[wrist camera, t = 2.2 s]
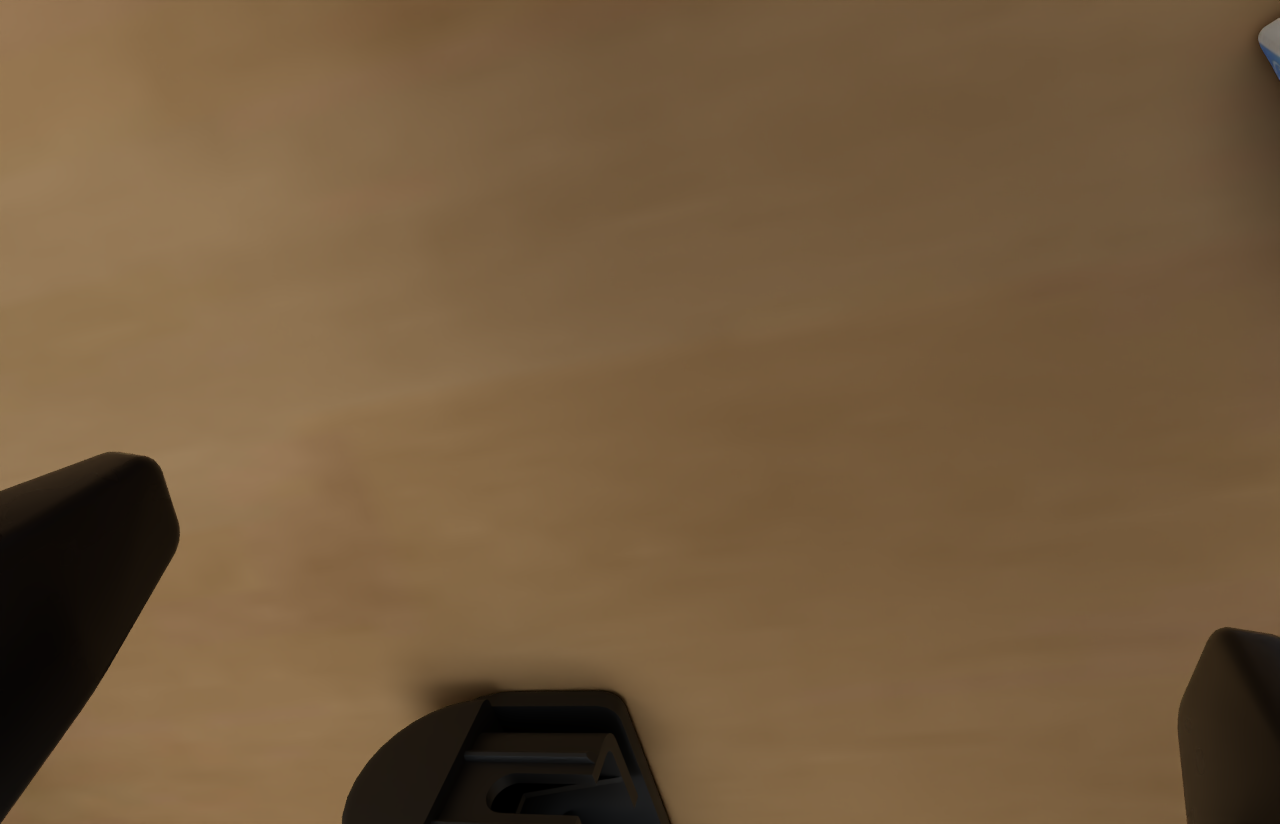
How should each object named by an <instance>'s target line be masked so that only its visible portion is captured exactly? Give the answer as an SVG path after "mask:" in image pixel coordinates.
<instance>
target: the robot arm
mask: <svg viewBox="0 0 1280 824" xmlns="http://www.w3.org/2000/svg"><path fill="white" fill-rule="evenodd" d="M179 537H180V527H179V523H178V519H177V516H176V513H175V510H174V507H173V504H172V501H171V497H170V494H169V491H168V488H167V485H166V482H165V479H164V475H163V472H162V470H161V468H160V466H159V465H158V464H157V463H156V462H155V461H154V460H153V459H151V458H149V457H146V456H141V455H135V454H128V453H122V452H107V453H103V454H100V455H97V456H95V457H92V458H89V459H87V460H84V461H81V462H78V463H76V464H73V465H70V466H67V467H65V468H62V469H59V470H57V471H54V472H51V473H48V474H46V475H43V476H40V477H38V478H35V479H32V480H29V481H27V482H24V483H21V484H18V485H16V486H13V487H10V488H8V489H5V490H2V491H0V824H1V822H2V821H3V820H4V818H5V817H6V815H7V814H8V813H9V811H10V810H11V808H12V807H13V806H14V804H15V803H16V801H17V800H18V799H19V797H20V796H21V794H22V793H23V792H24V790H25V789H26V787H27V786H28V785H29V783H30V782H31V780H32V779H33V778H34V776H35V775H36V773H37V772H38V771H39V769H40V768H41V766H42V765H43V764H44V762H45V761H46V759H47V758H48V757H49V755H50V754H51V752H52V751H53V750H54V748H55V747H56V745H57V744H58V743H59V741H60V740H61V738H62V737H63V735H64V734H65V733H66V731H67V730H68V728H69V727H70V726H71V724H72V723H73V721H74V720H75V719H76V717H77V716H78V714H79V713H80V712H81V710H82V709H83V707H84V706H85V704H86V703H87V701H88V700H89V698H90V697H91V695H92V694H93V692H94V691H95V689H96V688H97V686H98V684H99V683H100V681H101V680H102V678H103V676H104V675H105V673H106V671H107V670H108V668H109V666H110V665H111V663H112V661H113V659H114V658H115V656H116V654H117V653H118V651H119V649H120V647H121V646H122V644H123V642H124V640H125V639H126V637H127V635H128V634H129V632H130V630H131V628H132V627H133V625H134V623H135V621H136V620H137V618H138V616H139V614H140V613H141V611H142V609H143V608H144V606H145V604H146V602H147V601H148V599H149V597H150V595H151V594H152V592H153V590H154V589H155V587H156V585H157V583H158V582H159V580H160V578H161V576H162V575H163V573H164V571H165V570H166V568H167V566H168V564H169V563H170V561H171V559H172V557H173V556H174V554H175V552H176V549H177V546H178V543H179ZM1178 739H1179V748H1180V758H1181V767H1182V777H1183V786H1184V796H1185V805H1186V815H1187V824H1280V637H1278V636H1276V635H1273V634H1268V633H1262V632H1256V631H1249V630H1243V629H1237V628H1230V627H1224V628H1220V629H1218V630H1216V631H1215V632H1214V633H1213V634H1212V635H1211V636H1210V637H1209V639H1208V641H1207V643H1206V645H1205V647H1204V650H1203V652H1202V654H1201V657H1200V659H1199V661H1198V663H1197V666H1196V668H1195V670H1194V673H1193V675H1192V677H1191V679H1190V682H1189V684H1188V686H1187V688H1186V691H1185V693H1184V695H1183V698H1182V700H1181V703H1180V708H1179V714H1178Z"/></svg>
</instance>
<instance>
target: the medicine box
mask: <svg viewBox="0 0 1280 824" xmlns="http://www.w3.org/2000/svg"><path fill="white" fill-rule="evenodd" d="M1258 41H1259V44H1260V47H1261V49H1262V50H1263V52H1264V54H1265V56H1266V57H1267V59H1268V61H1269V62H1270V64H1271V65H1272V67H1273V69H1274V71H1275V73H1276V75H1277V77H1278V79H1279V81H1280V17H1279V18H1278V19H1276V20H1275V21H1273V22H1271V23H1270V24H1268V25H1267V26H1265V27H1264V28H1263V29H1262V30H1261V31H1260V33H1259V36H1258Z"/></svg>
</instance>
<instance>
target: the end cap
mask: <svg viewBox="0 0 1280 824" xmlns="http://www.w3.org/2000/svg"><path fill="white" fill-rule="evenodd" d="M342 824H670V823H669V820H668V817H667V815H666V812H665V809H664V807H663V804H662V801H661V799H660V796H659V794H658V791H657V788H656V786H655V783H654V780H653V778H652V775H651V772H650V770H649V767H648V764H647V762H646V759H645V756H644V754H643V751H642V749H641V746H640V743H639V741H638V738H637V735H636V733H635V730H634V727H633V725H632V722H631V719H630V717H629V714H628V712H627V709H626V706H625V704H624V703H623V702H622V700H621V699H620V698H619V697H617V696H616V695H614V694H612V693H608V692H603V691H560V692H503V693H498V694H493V695H488V696H483V697H479V698H477V699H475V700H473V701H467V702H463V703H458V704H454V705H450V706H447V707H445V708H442V709H440V710H437V711H434V712H432V713H430V714H428V715H426V716H424V717H422V718H420V719H418V720H416V721H415V722H413V723H411V724H410V725H409V726H407V727H406V728H404V729H403V730H401V731H400V732H398V733H397V734H396V735H395V736H393V737H392V738H391V739H390V740H389V741H388V742H387V743H385V744H384V745H383V746H382V747H381V748H380V749H379V750H378V751H377V752H376V754H375V755H374V756H373V757H372V758H371V759H370V760H369V761H368V763H367V764H366V765H365V767H364V768H363V770H362V771H361V773H360V774H359V776H358V777H357V779H356V780H355V782H354V784H353V787H352V789H351V791H350V793H349V795H348V797H347V800H346V804H345V808H344V811H343V816H342Z"/></svg>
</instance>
